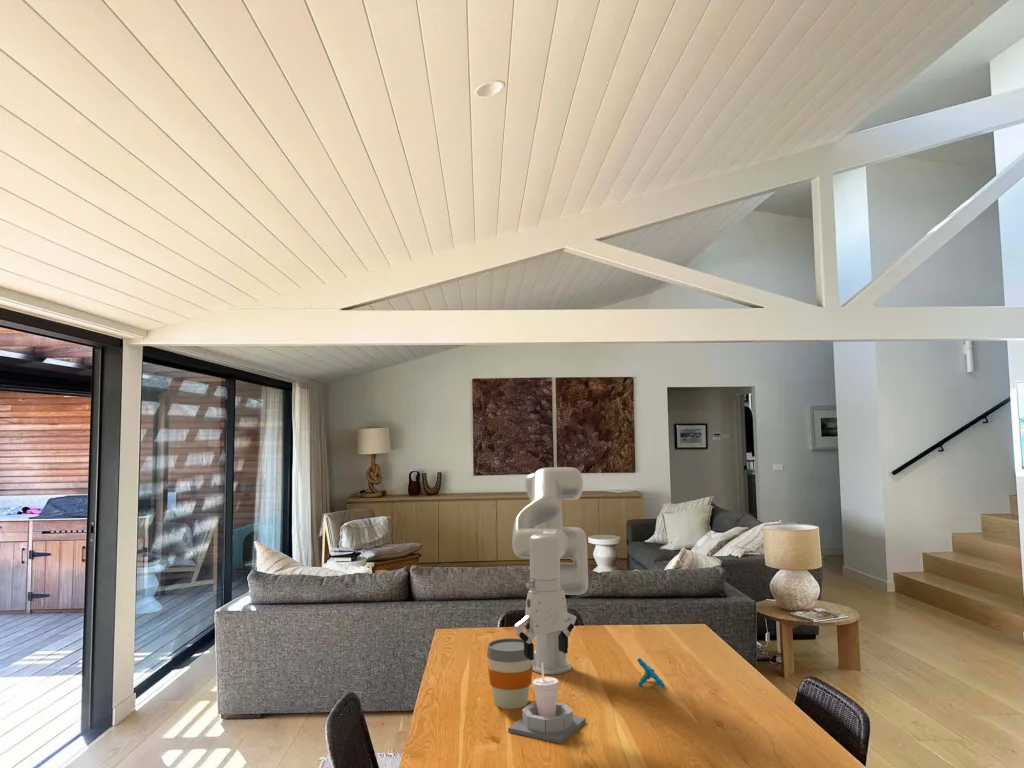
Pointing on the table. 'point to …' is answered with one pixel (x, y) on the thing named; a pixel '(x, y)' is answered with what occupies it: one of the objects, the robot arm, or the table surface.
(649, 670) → the gear
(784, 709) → the table surface
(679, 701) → the table surface
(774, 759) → the table surface
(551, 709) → the smoothie
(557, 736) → the bottle socket
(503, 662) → the reusable coffee cup
